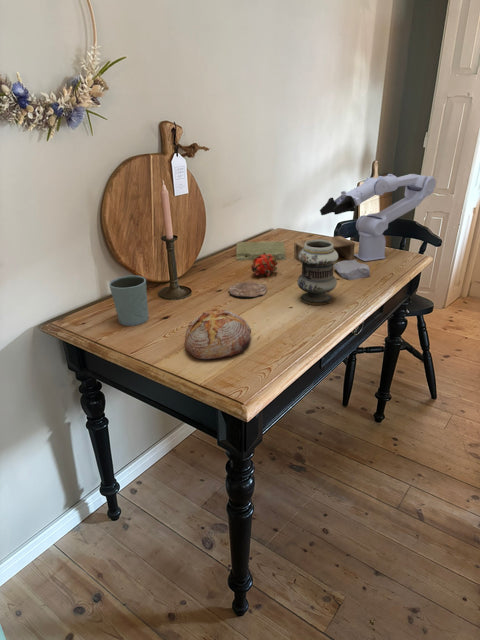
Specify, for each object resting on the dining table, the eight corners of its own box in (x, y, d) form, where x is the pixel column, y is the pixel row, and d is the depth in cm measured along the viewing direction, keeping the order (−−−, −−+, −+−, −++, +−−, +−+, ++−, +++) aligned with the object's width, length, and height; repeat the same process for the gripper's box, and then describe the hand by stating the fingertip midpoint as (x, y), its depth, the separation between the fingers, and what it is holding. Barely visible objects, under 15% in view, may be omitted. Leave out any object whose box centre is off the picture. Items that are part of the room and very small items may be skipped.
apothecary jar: (314, 310, 140) (316, 251, 133) (289, 297, 149) (289, 242, 142) (344, 300, 146) (347, 243, 138) (317, 289, 155) (320, 235, 148)
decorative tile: (236, 248, 201) (236, 240, 200) (284, 247, 200) (284, 239, 199) (234, 262, 184) (234, 254, 183) (286, 261, 183) (286, 253, 182)
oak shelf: (338, 251, 191) (339, 235, 188) (354, 259, 181) (355, 243, 179) (293, 257, 186) (294, 241, 183) (306, 266, 176) (307, 249, 173)
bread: (172, 359, 119) (166, 323, 115) (209, 327, 135) (205, 294, 130) (230, 369, 112) (226, 331, 108) (262, 333, 128) (260, 299, 124)
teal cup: (155, 321, 136) (150, 283, 131) (121, 330, 132) (115, 290, 127) (143, 309, 144) (138, 272, 139) (111, 317, 140) (104, 279, 135)
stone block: (348, 286, 162) (372, 276, 164) (346, 273, 160) (371, 263, 162) (330, 276, 172) (353, 267, 175) (328, 264, 170) (351, 255, 172)
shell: (266, 300, 149) (266, 289, 148) (226, 300, 150) (226, 289, 149) (267, 286, 159) (267, 276, 158) (230, 286, 161) (230, 276, 159)
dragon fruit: (277, 274, 174) (256, 288, 167) (262, 258, 176) (240, 271, 169) (286, 260, 167) (264, 273, 160) (270, 243, 169) (248, 256, 162)
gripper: (340, 187, 174) (311, 202, 169) (366, 184, 161) (337, 200, 157) (345, 205, 176) (318, 220, 172) (372, 203, 164) (343, 219, 159)
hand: (327, 212), depth 164 cm, fingers open, 7 cm apart
